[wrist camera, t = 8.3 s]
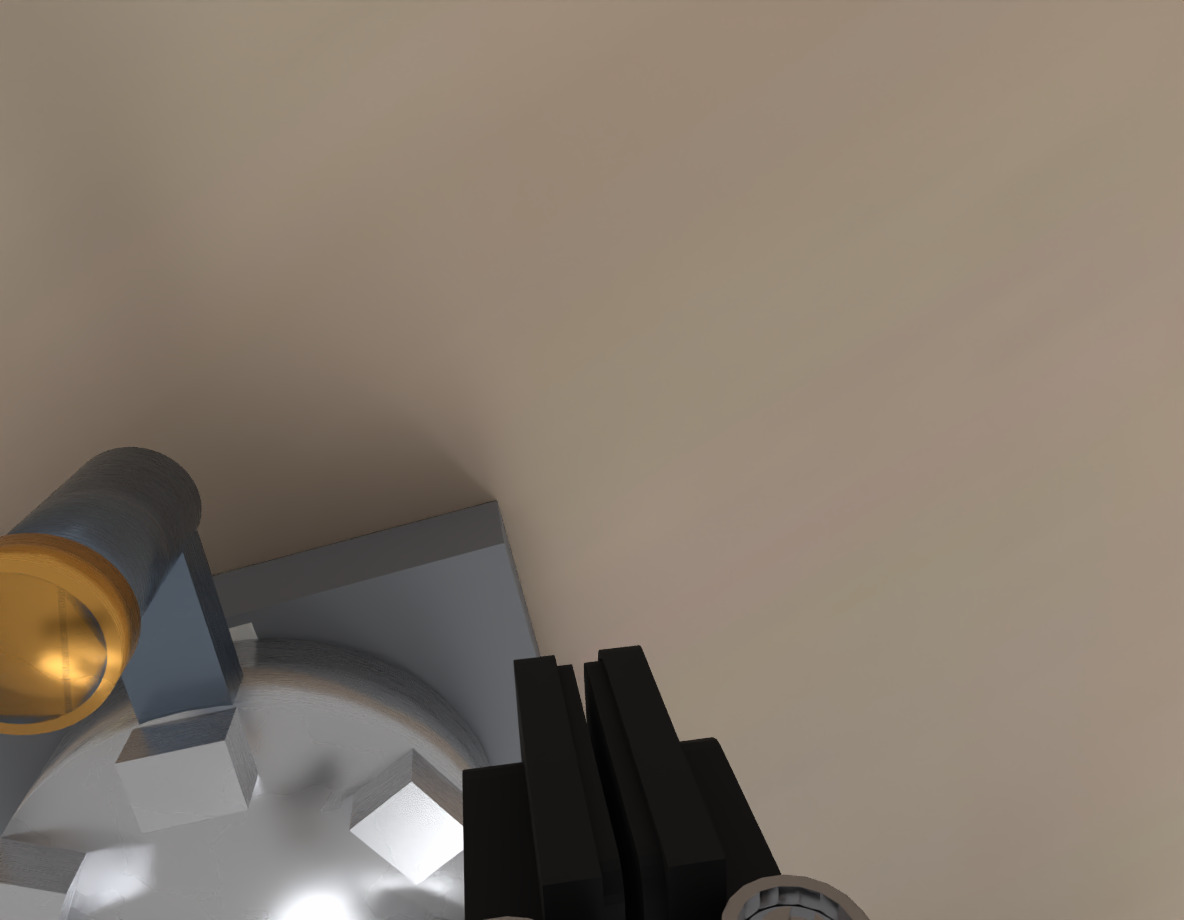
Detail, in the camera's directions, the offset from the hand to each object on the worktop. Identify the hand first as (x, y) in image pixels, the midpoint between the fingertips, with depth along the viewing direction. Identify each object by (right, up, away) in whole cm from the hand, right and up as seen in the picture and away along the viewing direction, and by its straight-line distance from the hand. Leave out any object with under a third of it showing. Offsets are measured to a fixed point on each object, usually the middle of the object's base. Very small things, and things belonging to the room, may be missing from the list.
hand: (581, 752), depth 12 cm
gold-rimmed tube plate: (-9, -4, +12) cm, 15 cm away
